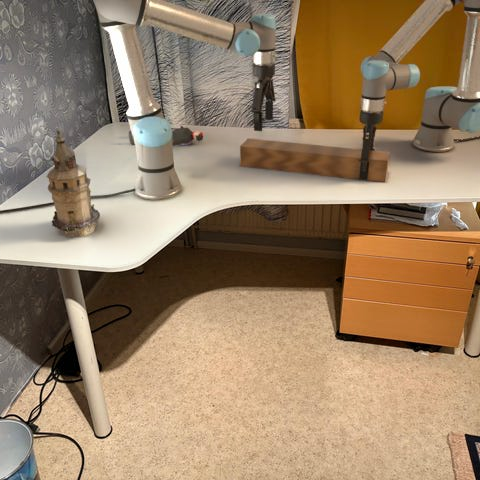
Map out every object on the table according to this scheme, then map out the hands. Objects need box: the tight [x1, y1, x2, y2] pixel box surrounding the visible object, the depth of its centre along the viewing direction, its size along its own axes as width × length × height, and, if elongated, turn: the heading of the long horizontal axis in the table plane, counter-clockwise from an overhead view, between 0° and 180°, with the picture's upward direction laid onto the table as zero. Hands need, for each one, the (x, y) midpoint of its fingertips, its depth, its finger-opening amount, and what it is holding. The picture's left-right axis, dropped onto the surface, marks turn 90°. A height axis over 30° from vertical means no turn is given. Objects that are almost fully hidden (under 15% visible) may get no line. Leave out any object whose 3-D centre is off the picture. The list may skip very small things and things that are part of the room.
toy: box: [128, 125, 204, 147], centre depth 219 cm, size 26×6×30 cm
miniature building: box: [46, 129, 101, 237], centre depth 148 cm, size 13×14×30 cm
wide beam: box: [239, 138, 391, 183], centre depth 191 cm, size 52×9×8 cm, turn 71°
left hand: (263, 125), depth 191 cm, fingers open, 13 cm apart
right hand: (364, 173), depth 188 cm, fingers closed on wide beam, 9 cm apart
